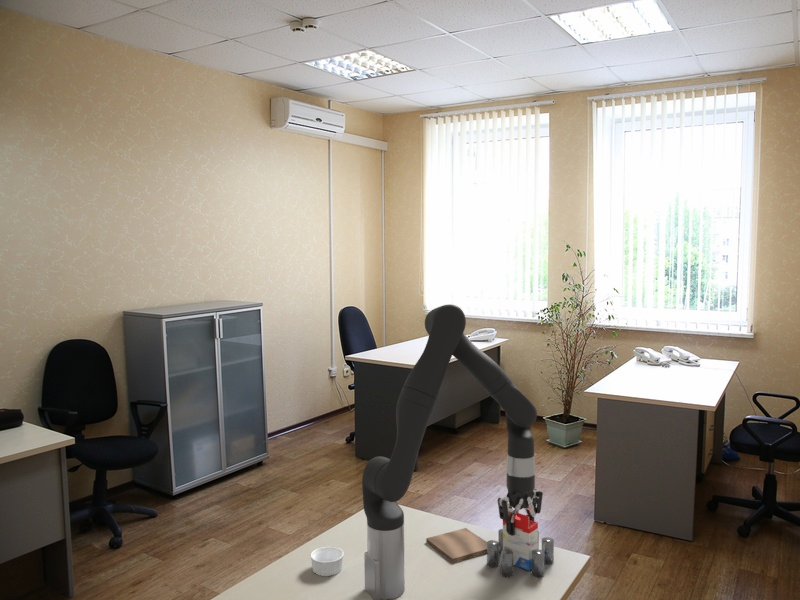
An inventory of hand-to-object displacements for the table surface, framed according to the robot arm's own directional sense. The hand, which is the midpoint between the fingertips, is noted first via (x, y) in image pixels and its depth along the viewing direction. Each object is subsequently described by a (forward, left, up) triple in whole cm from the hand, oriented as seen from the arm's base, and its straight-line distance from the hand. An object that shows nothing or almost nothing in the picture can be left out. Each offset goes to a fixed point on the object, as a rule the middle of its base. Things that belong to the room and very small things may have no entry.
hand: (520, 531), depth 164 cm
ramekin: (-47, +23, -9) cm, 53 cm away
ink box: (0, 0, -9) cm, 9 cm away
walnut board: (-9, +16, -9) cm, 20 cm away
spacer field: (0, 0, -9) cm, 9 cm away
